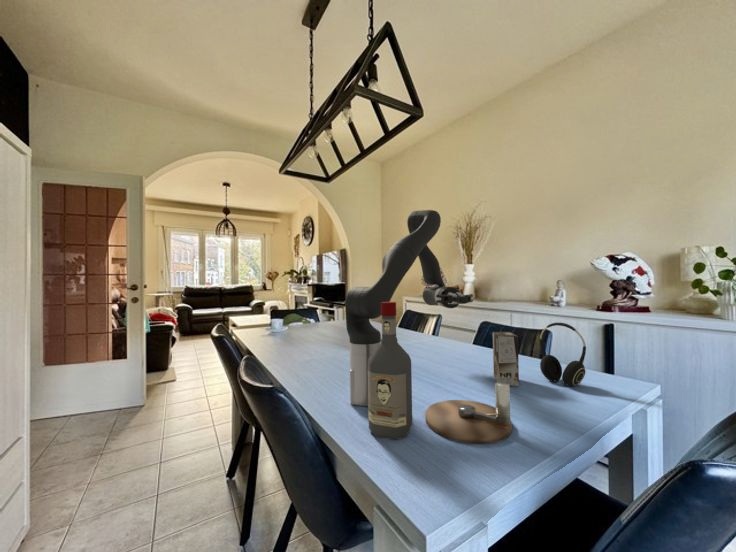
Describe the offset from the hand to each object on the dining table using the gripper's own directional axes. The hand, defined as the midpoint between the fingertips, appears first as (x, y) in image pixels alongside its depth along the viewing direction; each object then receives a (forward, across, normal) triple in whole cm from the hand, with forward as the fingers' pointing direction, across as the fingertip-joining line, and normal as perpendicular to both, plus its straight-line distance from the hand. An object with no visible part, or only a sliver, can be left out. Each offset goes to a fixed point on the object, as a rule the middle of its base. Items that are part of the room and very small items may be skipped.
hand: (463, 300), depth 94 cm
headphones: (-6, +35, +29) cm, 45 cm away
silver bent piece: (+21, -3, +27) cm, 34 cm away
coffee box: (-10, +18, +29) cm, 35 cm away
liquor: (+20, -25, +29) cm, 43 cm away
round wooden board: (+18, -6, +28) cm, 34 cm away
